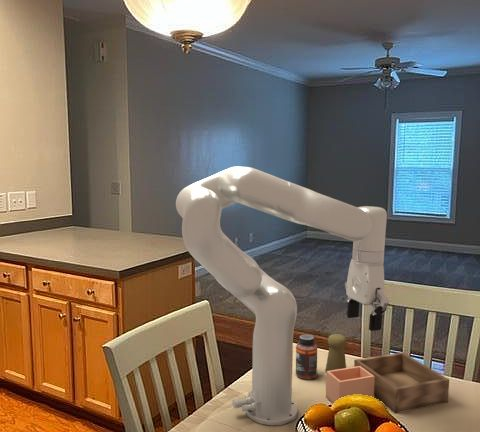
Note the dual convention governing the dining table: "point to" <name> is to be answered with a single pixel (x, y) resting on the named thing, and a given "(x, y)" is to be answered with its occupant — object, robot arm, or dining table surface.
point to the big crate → (405, 382)
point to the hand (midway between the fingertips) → (363, 323)
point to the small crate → (348, 383)
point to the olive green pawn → (336, 352)
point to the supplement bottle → (306, 357)
